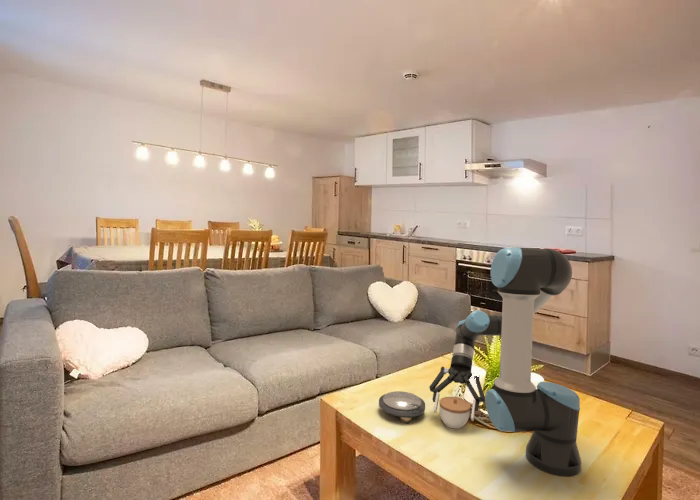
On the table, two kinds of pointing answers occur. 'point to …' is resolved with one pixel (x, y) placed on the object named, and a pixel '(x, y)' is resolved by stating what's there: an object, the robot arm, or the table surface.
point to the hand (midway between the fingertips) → (453, 415)
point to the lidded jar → (454, 411)
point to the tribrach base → (402, 405)
